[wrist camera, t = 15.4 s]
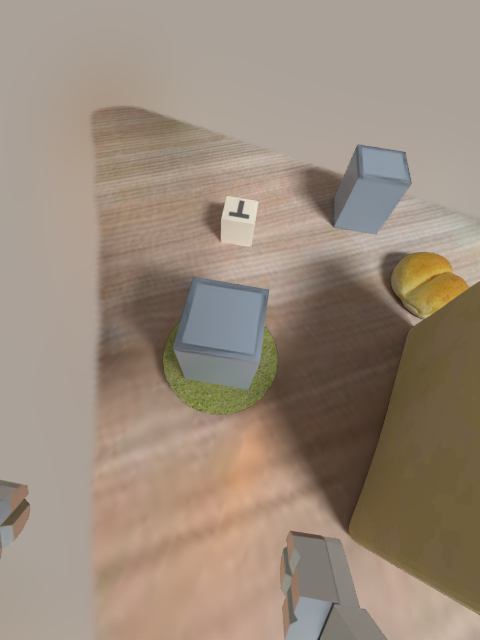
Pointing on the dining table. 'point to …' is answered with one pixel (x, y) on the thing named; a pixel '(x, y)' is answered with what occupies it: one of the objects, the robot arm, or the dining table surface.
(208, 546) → the dining table surface
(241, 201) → the letter cube
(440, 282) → the bread roll
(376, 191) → the gray notched block
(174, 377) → the mat
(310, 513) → the dining table surface
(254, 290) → the grey stool
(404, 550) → the cheese
